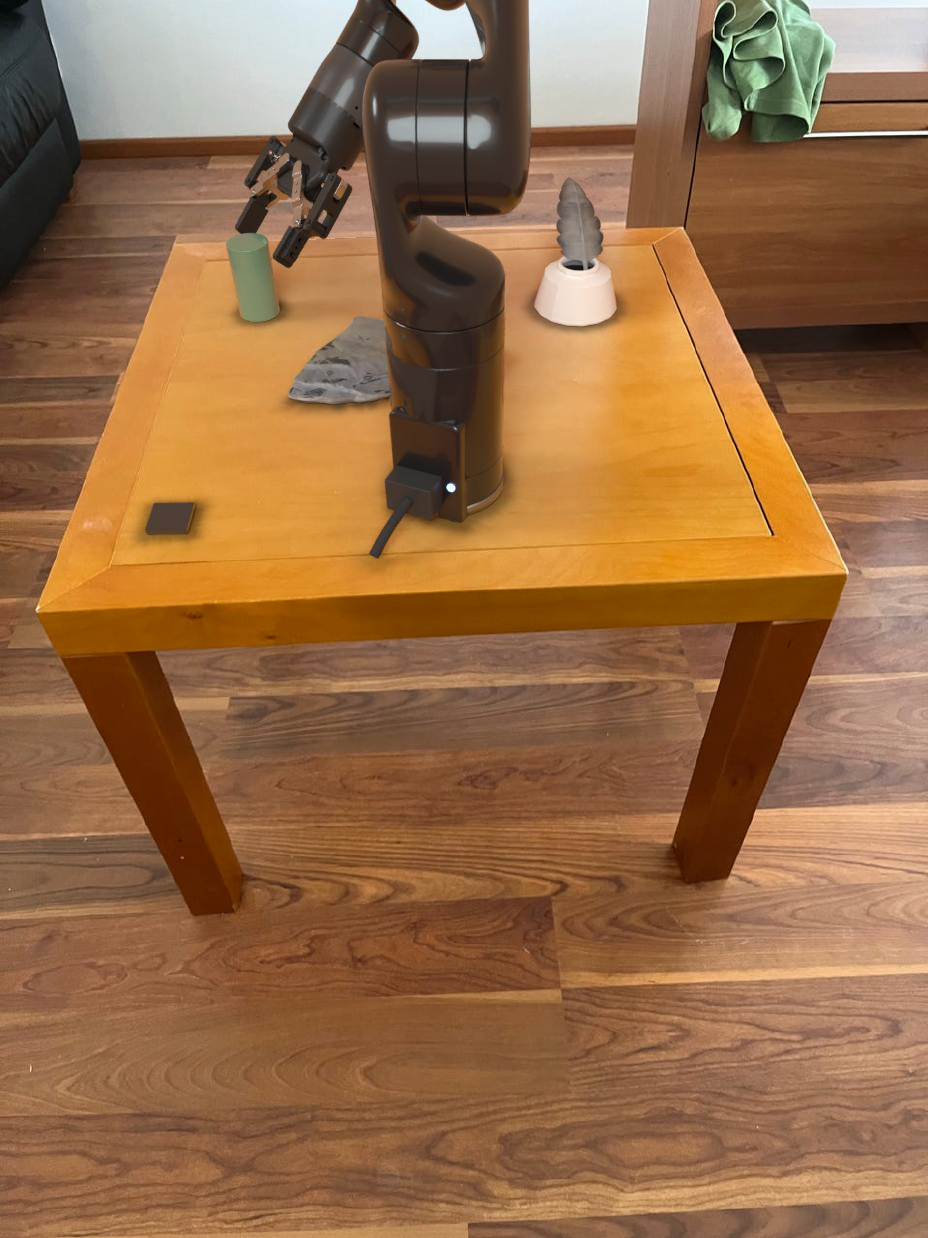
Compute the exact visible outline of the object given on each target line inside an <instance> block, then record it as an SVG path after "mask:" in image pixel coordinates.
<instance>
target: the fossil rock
mask: <svg viewBox="0 0 928 1238" xmlns="http://www.w3.org/2000/svg"><path fill="white" fill-rule="evenodd" d="M287 394H288V395H287V397H288V399H289V400H291V401H295V402H298V403H299V402H300V403H306V404H307V403H308V404H309V403H321V404H322V403H323V404H328V405H340V404H348V403H349V404H350V403H358V404H359V403H360V404H361V403H363V404H364V403H369V402H374V401H379V400H380V401H381V400H385V399H387V398H390V388H389V376H388V363H387V351H386V337H385V325H384V319H380V318H377V317H376V318H374V317H368V316H356V317H354V318H353V319H352V320H351V321H350V322H349V325H348V326H347V328H346V329H345V330H344V331H342V332H341V333H340V334H338V335H336V336H335V337H334V338H333V339H332V340H330V341H329V342H327V343H326V344H325V345H323V346H322V347H321V348H319V349H318V350H316V351H315V352H314V354H313V355H312V357H311V358H310V359H309V360H308V361H307V362H306V363H305V364H304V365H303V367H302V368H301V370H300V372H299V373H298V374H297V375H296V376H295V377H294V379H293V382H292V385H291V388H290V389H289V391H288V393H287Z"/></svg>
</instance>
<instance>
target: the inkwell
mask: <svg viewBox="0 0 928 1238" xmlns="http://www.w3.org/2000/svg"><path fill="white" fill-rule="evenodd" d="M558 200H559V201H558V203H557V205H556V213H557V216H558V217H559V219H557V221H556V223H555V224H556V225H555V226H556V227H555V228H556V230H557V232H558V233H559V235H558V236H556V242H557V244H558V246H560V248H561V250H560V254H562V256H561V257H560V258H559V259H557V260H555V261H552V262H550V263H549V264H548V265H547V266H546V267H545V269H544V271H543V274H542V277H541V280H540V283H539V286H538V289H537V292H536V295H535V298H534V303H533V304H534V305H533V307H534V308H535V311H536V312H537V313H538V314H539V316H540V317H542V318H544V319H545V320H547V321H548V322H550V323H554V324H558V325H562V326H567V327H587V326H593V325H599V324H600V323H602V322H605V321H607V320H610V319H611V317H612V316H613V315H614V314H615V312H616V311H617V310H618V309H617V308H618V307H617V305H618V304H617V297H616V290H615V284H614V278H613V274H612V270H611V269H610V268H609V267H608V266H607V264H605V263H603V262H602V261H599V260H598V259H597V258H598V257H599V256H601V254H602V253H603V251H604V247H603V246H602V244H603V241H604V238H605V237H604V234H603V232H602V231H601V229H602V228H601V227H602V223H601V220H600V218H599V217H598V216H597V215H596V214H595V213H596V212H595V207H594V205H593V203H592V201H591V200H590V198H589V197H587V194H586V193H585V191H584V189H583V188H582V187H581V185H580V184H579V183H578V182H577V181H576V180H575V179H573V178H572V177H566V178H565V180H564V182H563V183H562V185H561V188H560V191H559V195H558Z"/></svg>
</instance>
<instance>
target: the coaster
mask: <svg viewBox="0 0 928 1238" xmlns="http://www.w3.org/2000/svg"><path fill="white" fill-rule="evenodd" d="M195 510H196V504H195V501H181V502H178V501H177V502H154V503H153V504H152V507H151V510H150V513H149V516H148V519H147V522H146V526H145V528H144V531H145V534H146V535H187V534H189V531H190V527H191V524H192V520H193V517H194V513H195Z"/></svg>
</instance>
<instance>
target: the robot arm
mask: <svg viewBox="0 0 928 1238" xmlns="http://www.w3.org/2000/svg"><path fill="white" fill-rule="evenodd" d="M424 1H425V2H427V3H428V4H429V5H430V6H432V7H434V8H436V9H438V10H441V11H444V12H451V11H455V10H456V11H457V10H458V9H460V8H461V7H463V6H464V5H465V6H466V8H467V11H468V13H469V16H470V18H471V21H472V24H473V27H474V29H475V32H476V36H477V39H478V42H479V43H478V44H479V47H480V50H481V54H482V55H481V56H482V57H480V58H471V59H469V58H423V59H422V58H414V56H415V54H416V53H417V50H418V47H419V45H420V35H419V31H418V30H417V28H416V26H415V24H414V23H413V22H412V20H411V19H409V17H408V16H407V15H406V14H405V13H404V12H403V11H402V10H401V9H400V8H399V7H398V5H397V0H357V2H356V5H355V7H354V9H353V11H352V13H351V15H350V17H349V19H348V20H347V22H346V24H345V25H344V27H343V29H342V31H341V33H340V34H339V36H338V38H337V39H336V41H335V44H334V45H333V46H332V48H331V49H330V51H329V53H327V55H326V56H325V58H324V59H323V60H322V62H321V63H320V65H319V66H318V69H317V70H316V72H315V74H314V75H313V77H312V79H311V81H310V82H309V84H308V86H307V87H306V90H305V92H304V93H303V95H302V96H301V99H300V100H299V102H298V104H297V106H296V108H295V109H294V111H293V113H292V114H291V116H290V118H289V120H288V121H287V128H288V130H289V132H290V133H291V134H292V138H291V140H289V143H288V144H287V145H286V143H284V142H283V141H282V140H280V139H279V138H278V137H276V136H275V135H271V136H270V137H269V139H268V140H267V142H266V144H265V145H264V147H263V148H262V150H261V152H260V153H259V155H258V157H257V159H256V160H255V161H254V163H253V165H252V167H251V169H250V170H249V172H248V174H247V175H246V177H245V179H244V181H243V184H244V186H245V187H247V188H248V190H249V191H248V196H249V199H248V201H247V203H246V204H245V207H244V208H243V210H242V212H241V214H240V216H239V217H238V220H237V221H236V223H235V225H234V229H235V231H236V232H237V233H239V234H244V233H258V230H259V229H260V227H261V226H262V223H263V222H264V220H265V218H266V217H267V214H268V213H269V209H270V208H271V207H273V206H274V205H275V204H277V203H278V202H279V201H287V200H289V199H290V204H291V205H292V207H293V213H292V222H291V225H292V226H291V225H288V227H287V228H286V230H285V232H284V234H283V236H282V237H281V239H280V241H279V243H278V244H277V246H276V248H275V249H274V251H273V253H272V259H273V260H274V261H275V262H277V263H278V264H280V265H281V266H282V267H285V268H286V269H291V268H292V266H293V265H294V263H295V262H297V260H298V258H299V256H300V255H301V253H302V251H303V249H304V248H305V246H306V244H307V243H308V241H309V240H310V239H314V238H315V237H317V238H320V239H321V240H325V239H327V238H328V237H329V235H330V233H331V231H332V229H333V227H334V225H335V224H336V222H337V220H338V218H339V217H340V214H341V212H342V210H343V209H344V206H345V205H346V203H347V201H348V200H349V198H350V196H351V195H352V193H353V186H352V185H351V184H350V183H348V181H347V180H346V179H344V178H343V177H341V176H340V175H338V173H339V171H340V170H341V171H344V172H349V171H350V170H351V169H352V168H353V167H354V164H355V163H356V161H357V159H358V157H359V156H360V154H361V152H362V151H363V149H364V159H365V167H366V172H367V179H368V187H369V193H370V200H371V206H372V207H371V208H372V213H373V214H372V215H373V223H374V229H375V237H376V248H377V259H378V269H379V270H378V271H379V278H380V289H381V290H380V291H381V303H382V313H383V320H384V325H385V337H386V351H387V363H388V376H389V388H390V397H389V399H390V412H389V413H388V422H389V423H388V425H389V432H390V433H389V434H390V445H391V456H392V470H391V471H390V472H389V474H388V475H387V476H386V478H384V488H385V499H386V508H387V509H388V510H392V511H393V512H392V514H391V515H390V517H389V518H388V520H387V521H386V523H385V524H384V526H383V527H382V529H381V531H380V532H379V534H378V535H377V537H376V539H375V541H374V543H373V545H372V547H371V549H370V551H369V553H368V555H370V556H371V557H372V558H375V559H377V560H378V559H380V556H381V554H382V552H383V550H384V549H385V547H386V545H387V543H388V541H389V539H390V538H391V536H392V535H393V534H394V532H395V530H396V528H397V527H398V526H399V524H400V522H401V521H402V520H403V518H404V517H405V516H406V514H407V515H410V516H413V517H417V518H421V519H423V520H428V521H433V520H434V519H435V517H437V518H441V519H445V520H448V521H452V522H455V523H463V522H464V520H465V519H466V517H468V516H469V515H472V514H476V513H477V512H481V511H482V510H485V509H486V508H488V507H490V506H491V505H492V504H493V503H495V501H496V500H498V499H499V497H500V495H501V493H502V491H503V488H504V469H503V454H504V453H503V452H504V445H503V444H504V394H505V393H504V391H505V389H504V388H505V342H506V341H505V337H506V302H507V301H506V300H507V298H506V297H507V279H506V271H505V267H504V265H503V263H502V261H501V260H500V258H499V257H498V255H496V254H495V253H494V252H493V251H491V250H490V249H488V248H487V247H485V246H483V245H481V244H479V243H477V242H475V241H473V240H471V239H468V238H465V237H462V236H460V235H458V234H456V233H454V232H452V231H450V230H448V229H446V228H444V227H442V225H440V224H438V223H437V222H436V221H435V220H433V219H432V218H431V217H434V216H435V217H468V216H469V217H500V216H505V215H506V216H507V215H509V214H511V213H512V212H514V211H515V210H517V208H518V207H519V205H520V204H521V203H522V200H523V198H524V196H525V193H526V188H527V184H528V180H529V171H530V164H531V151H532V149H531V148H532V96H531V95H532V93H531V92H532V91H531V90H532V89H531V48H530V46H531V45H530V43H531V42H530V41H531V40H530V0H424ZM263 171H264V172H263ZM262 172H263V173H262ZM260 175H261V179H260V180H258V178H259V177H260ZM324 212H326V216H325V217H324V219H323V221H322V222H320V221H319V220H320V218H322V217H323V215H324ZM305 216H306V217H305Z"/></svg>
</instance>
